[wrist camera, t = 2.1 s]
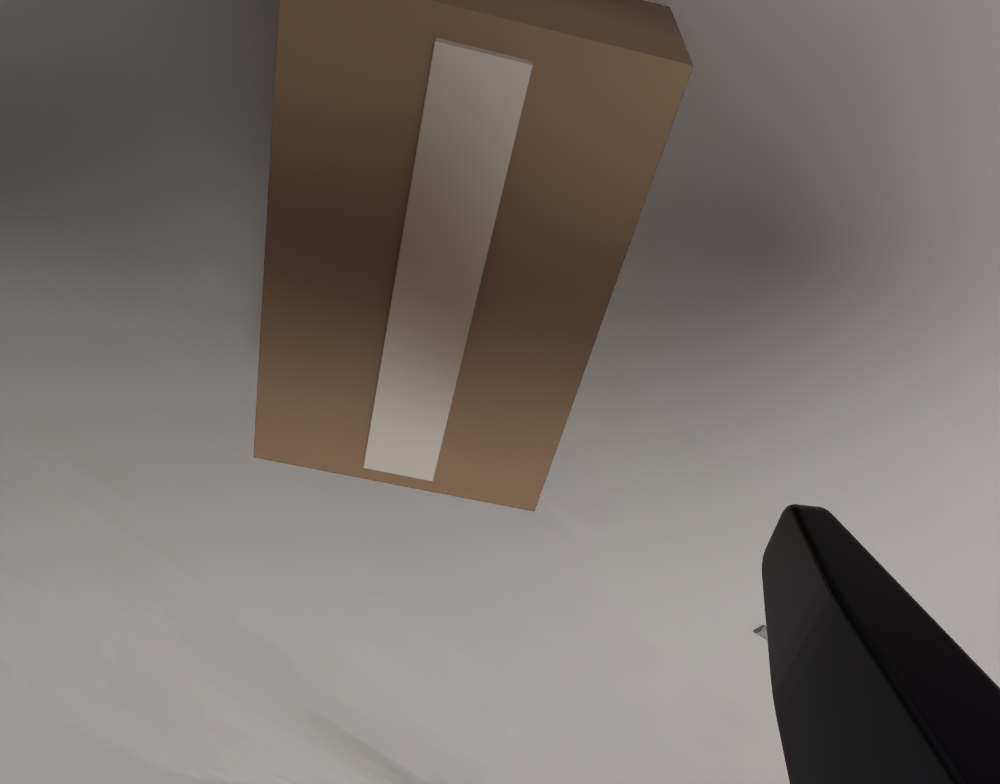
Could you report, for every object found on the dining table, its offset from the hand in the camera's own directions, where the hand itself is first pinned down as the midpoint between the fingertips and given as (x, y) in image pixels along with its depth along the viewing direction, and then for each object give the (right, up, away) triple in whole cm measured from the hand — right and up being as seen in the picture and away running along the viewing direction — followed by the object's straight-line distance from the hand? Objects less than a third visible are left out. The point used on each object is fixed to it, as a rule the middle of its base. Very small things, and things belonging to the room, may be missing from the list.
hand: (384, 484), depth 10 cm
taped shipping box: (+1, +4, +5) cm, 7 cm away
